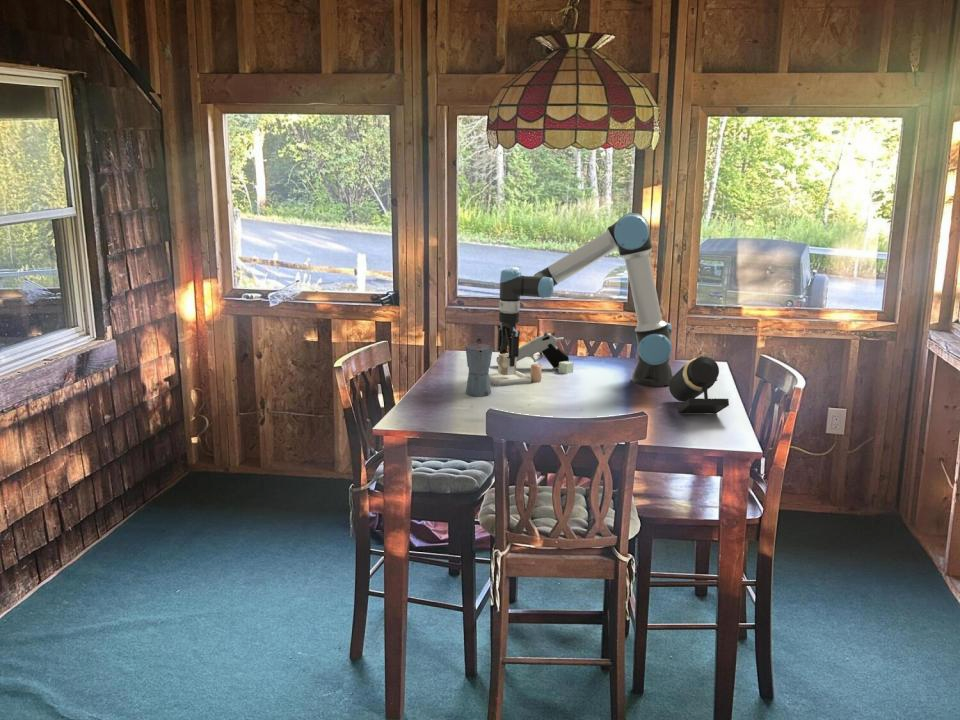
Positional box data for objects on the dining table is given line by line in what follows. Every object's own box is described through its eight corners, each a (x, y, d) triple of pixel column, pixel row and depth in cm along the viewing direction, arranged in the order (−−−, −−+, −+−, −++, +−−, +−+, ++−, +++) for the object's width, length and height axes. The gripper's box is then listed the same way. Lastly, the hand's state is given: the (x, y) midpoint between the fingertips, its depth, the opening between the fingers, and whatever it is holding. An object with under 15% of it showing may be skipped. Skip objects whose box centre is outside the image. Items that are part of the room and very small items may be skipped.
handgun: (574, 360, 354) (557, 327, 351) (513, 391, 359) (495, 359, 356) (574, 358, 357) (557, 325, 355) (513, 389, 363) (495, 356, 360)
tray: (531, 382, 335) (531, 377, 334) (497, 386, 329) (497, 381, 328) (516, 375, 345) (516, 370, 345) (483, 378, 339) (483, 373, 339)
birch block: (515, 374, 335) (516, 356, 334) (503, 375, 333) (504, 357, 332) (509, 371, 340) (510, 353, 338) (497, 372, 337) (498, 354, 336)
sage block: (573, 372, 352) (573, 362, 352) (566, 374, 350) (567, 364, 349) (565, 370, 355) (565, 360, 354) (558, 372, 352) (559, 362, 352)
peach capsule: (542, 381, 337) (543, 366, 335) (533, 382, 335) (534, 367, 334) (537, 379, 340) (538, 363, 339) (528, 380, 339) (529, 364, 337)
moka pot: (467, 399, 311) (468, 342, 306) (461, 387, 325) (462, 333, 321) (494, 398, 312) (496, 342, 308) (487, 387, 327) (488, 333, 322)
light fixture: (700, 372, 317) (724, 352, 292) (704, 421, 312) (729, 405, 288) (664, 371, 316) (685, 352, 291) (667, 421, 312) (689, 405, 287)
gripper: (489, 307, 337) (487, 368, 343) (511, 316, 322) (509, 379, 327) (507, 307, 341) (505, 366, 346) (529, 315, 325) (527, 377, 330)
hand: (507, 372), depth 336 cm, fingers closed on birch block, 5 cm apart
